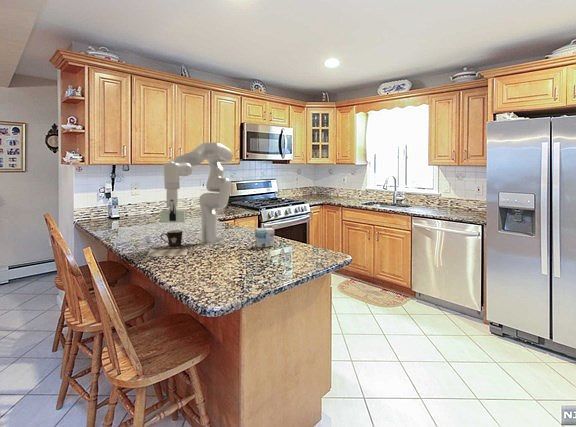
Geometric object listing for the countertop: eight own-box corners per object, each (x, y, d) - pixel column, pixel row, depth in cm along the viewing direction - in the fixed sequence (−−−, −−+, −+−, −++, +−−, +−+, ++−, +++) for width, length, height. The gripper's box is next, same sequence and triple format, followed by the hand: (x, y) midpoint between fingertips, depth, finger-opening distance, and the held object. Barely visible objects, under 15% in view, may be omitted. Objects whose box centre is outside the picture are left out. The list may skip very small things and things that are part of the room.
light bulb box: (257, 247, 214) (257, 230, 212) (254, 245, 220) (254, 228, 218) (274, 246, 218) (274, 229, 216) (271, 244, 224) (271, 227, 222)
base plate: (187, 251, 201) (187, 248, 201) (186, 257, 188) (186, 254, 187) (150, 252, 197) (150, 250, 197) (146, 259, 183) (146, 256, 183)
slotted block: (185, 220, 195) (185, 209, 194) (184, 222, 189) (184, 211, 188) (162, 221, 192) (161, 210, 192) (160, 222, 187) (160, 211, 186)
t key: (140, 245, 215) (139, 235, 215) (157, 245, 217) (157, 235, 217) (139, 246, 213) (139, 236, 212) (157, 245, 215) (156, 235, 214)
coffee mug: (185, 247, 212) (185, 230, 211) (176, 250, 204) (176, 233, 203) (169, 245, 216) (169, 229, 214) (160, 248, 208) (159, 231, 206)
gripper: (166, 185, 196) (167, 217, 198) (162, 187, 179) (164, 222, 182) (180, 185, 197) (181, 217, 200) (178, 187, 181) (179, 222, 183)
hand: (173, 219), depth 191 cm, fingers closed on slotted block, 6 cm apart
